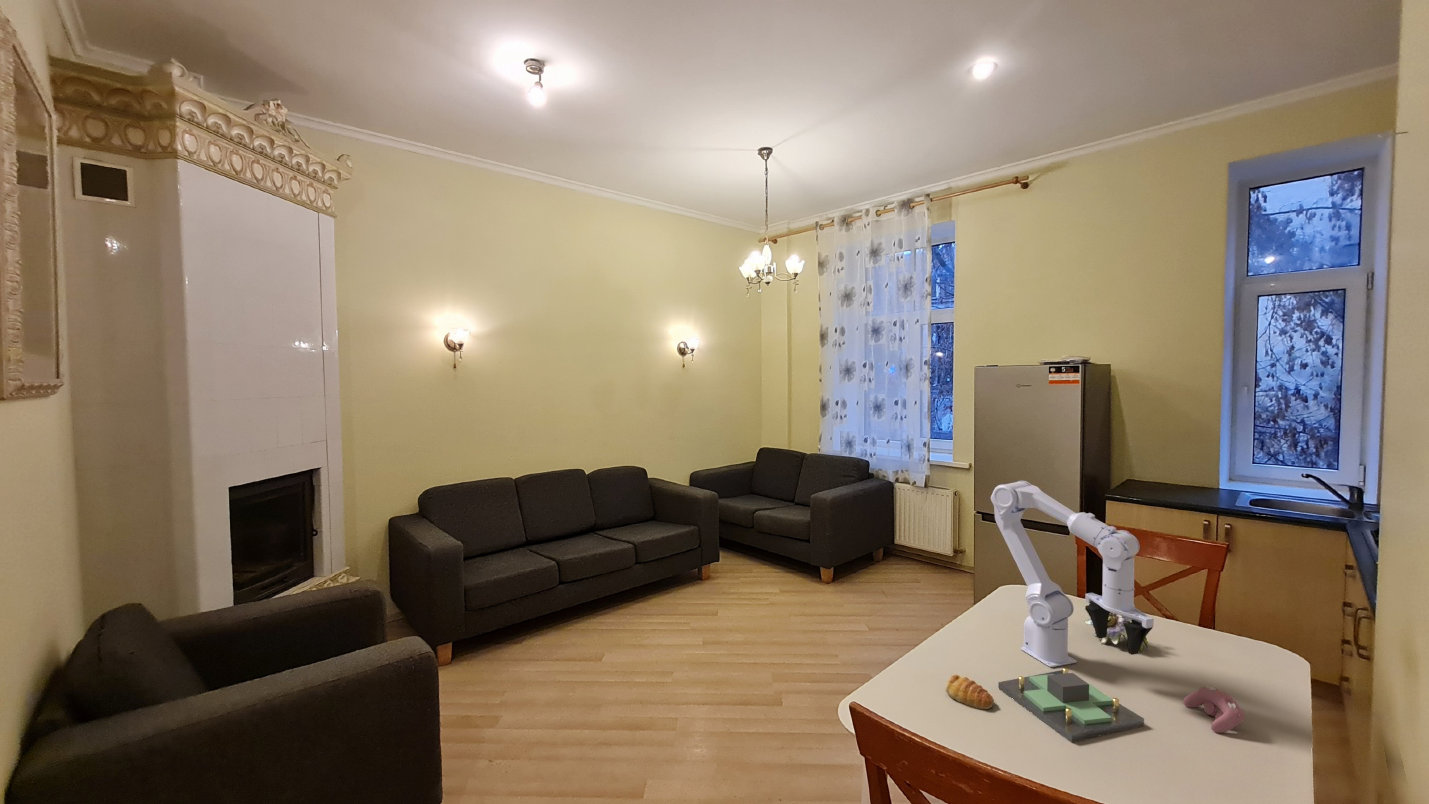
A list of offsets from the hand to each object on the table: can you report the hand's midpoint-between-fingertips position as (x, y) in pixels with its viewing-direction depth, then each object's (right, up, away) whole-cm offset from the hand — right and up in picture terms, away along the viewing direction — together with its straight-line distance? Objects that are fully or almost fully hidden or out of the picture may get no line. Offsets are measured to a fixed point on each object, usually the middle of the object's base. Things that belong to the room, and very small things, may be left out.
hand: (1117, 645), depth 125 cm
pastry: (-35, -11, -2) cm, 37 cm away
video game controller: (+11, -10, -12) cm, 19 cm away
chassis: (-16, -10, -7) cm, 20 cm away
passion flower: (+15, -8, +20) cm, 27 cm away
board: (-15, -9, -7) cm, 19 cm away
